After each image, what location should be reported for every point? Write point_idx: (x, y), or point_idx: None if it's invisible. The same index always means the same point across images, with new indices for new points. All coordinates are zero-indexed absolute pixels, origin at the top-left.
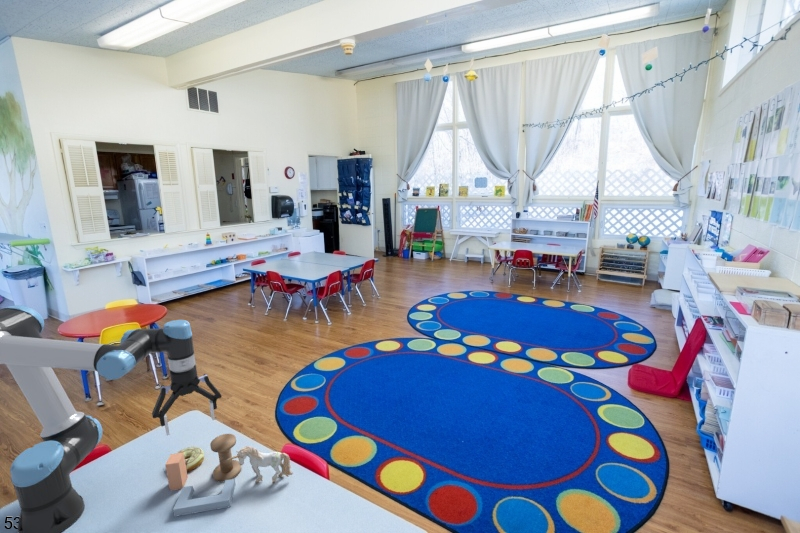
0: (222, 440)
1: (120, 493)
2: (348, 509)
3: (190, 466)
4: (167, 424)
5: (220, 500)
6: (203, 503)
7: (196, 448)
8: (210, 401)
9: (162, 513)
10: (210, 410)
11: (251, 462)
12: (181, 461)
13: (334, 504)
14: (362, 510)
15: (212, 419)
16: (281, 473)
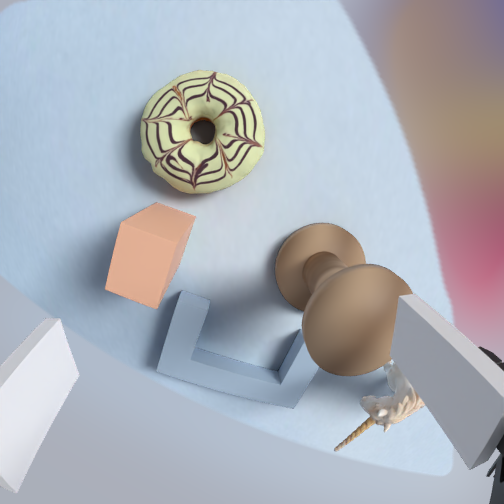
0: (363, 320)
1: (24, 181)
2: (437, 453)
3: (207, 192)
4: (41, 435)
5: (274, 402)
6: (232, 392)
7: (241, 103)
8: (492, 441)
9: (130, 331)
10: (432, 351)
11: (391, 387)
12: (169, 274)
13: (433, 443)
14: (445, 456)
15: (392, 357)
16: None
